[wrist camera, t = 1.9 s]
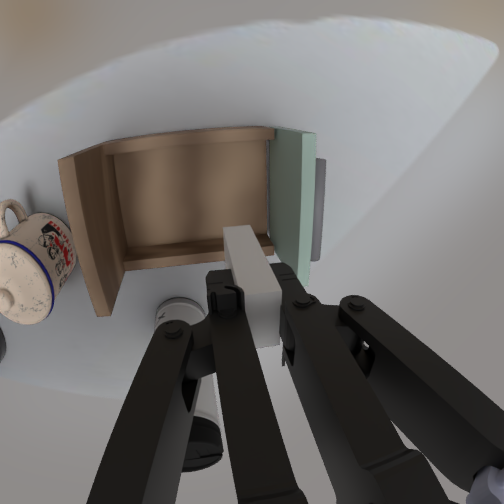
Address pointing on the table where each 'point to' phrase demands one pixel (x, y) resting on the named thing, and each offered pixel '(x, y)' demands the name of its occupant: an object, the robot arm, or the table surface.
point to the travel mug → (206, 413)
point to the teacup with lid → (32, 263)
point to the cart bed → (162, 201)
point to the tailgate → (296, 199)
